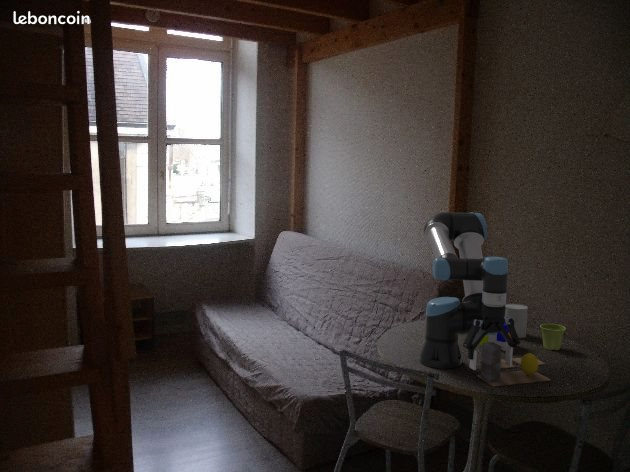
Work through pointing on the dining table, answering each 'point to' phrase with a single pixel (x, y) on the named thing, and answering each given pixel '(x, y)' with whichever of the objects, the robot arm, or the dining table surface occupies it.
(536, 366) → the lemon
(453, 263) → the robot arm
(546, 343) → the plant pot
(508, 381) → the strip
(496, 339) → the puzzle toy
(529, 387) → the dining table surface
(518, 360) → the brown wooden plank
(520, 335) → the white cylinder
